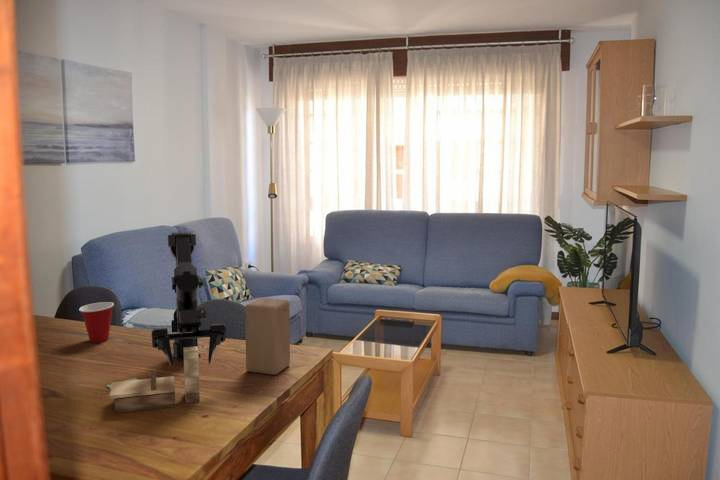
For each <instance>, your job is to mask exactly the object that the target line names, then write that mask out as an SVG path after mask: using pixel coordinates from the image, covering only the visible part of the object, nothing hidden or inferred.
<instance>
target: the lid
mask: <svg viewBox="0 0 720 480" xmlns="http://www.w3.org/2000/svg"><path fill="white" fill-rule="evenodd" d="M111 384H112V386H111V389H110V392H109V400H112V399H113V400H114V398H123V397H133V396H142V395H151V394H160V393H170V392H175V393H176V387H175V385H176V384H175V376H174V375H173V376H162V377H157V369H150V378H145V379H143V378H142V379H138V380H131V381H126V380H122V381H114V382H113V381H112V382H111Z"/></svg>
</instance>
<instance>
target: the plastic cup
mask: <svg viewBox="0 0 720 480" xmlns="http://www.w3.org/2000/svg"><path fill="white" fill-rule="evenodd" d="M114 305H115V304H114V302H112V301H103V302H95V303H90V304H85V305H83V306H80V308H79V309H78V310H79V312H80V313H81V315H82V317H83V321H84V325H85V328H86V332H87V335H88V339H89V341H90V342H91V343H102V342H106V341H108V340H109V337H110V332H111V331H110V330H111V324H112V323H111V322H112V315H113V308H114Z"/></svg>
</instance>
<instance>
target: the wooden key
mask: <svg viewBox="0 0 720 480" xmlns="http://www.w3.org/2000/svg"><path fill="white" fill-rule="evenodd" d="M183 351H184V360H183V372H184V373H183V376H184V378H183V379H184V399H185V402H186V394H192V393H199V401H200V399H201V397H200V394H201V393H200V392H201V391H200V363H199V361H200V360H199V359H200V356H198V353H199V345H198V346H195V347H183Z"/></svg>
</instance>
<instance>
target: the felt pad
mask: <svg viewBox="0 0 720 480" xmlns="http://www.w3.org/2000/svg"><path fill="white" fill-rule="evenodd" d="M131 380H139V379H137V378H136V377H133V378H130V379H126V380H125V381H131ZM111 386H112V383H111V384H107V385H106V387H107V388H108V387H109V388H108V389H110V390H111Z"/></svg>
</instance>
